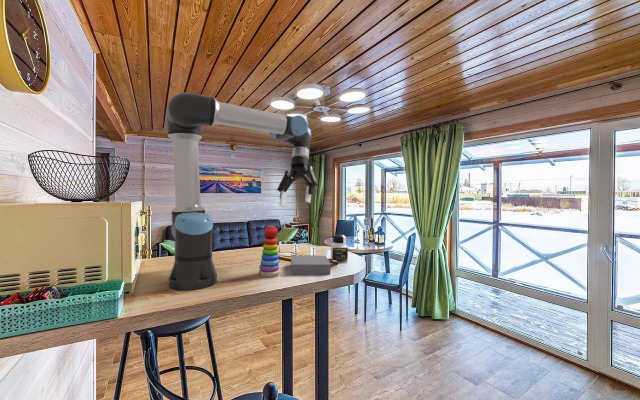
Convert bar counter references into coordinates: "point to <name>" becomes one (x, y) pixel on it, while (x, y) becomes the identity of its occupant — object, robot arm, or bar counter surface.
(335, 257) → the medicine bottle
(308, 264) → the charcoal plinth
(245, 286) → the bar counter surface
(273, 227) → the stacking toy
